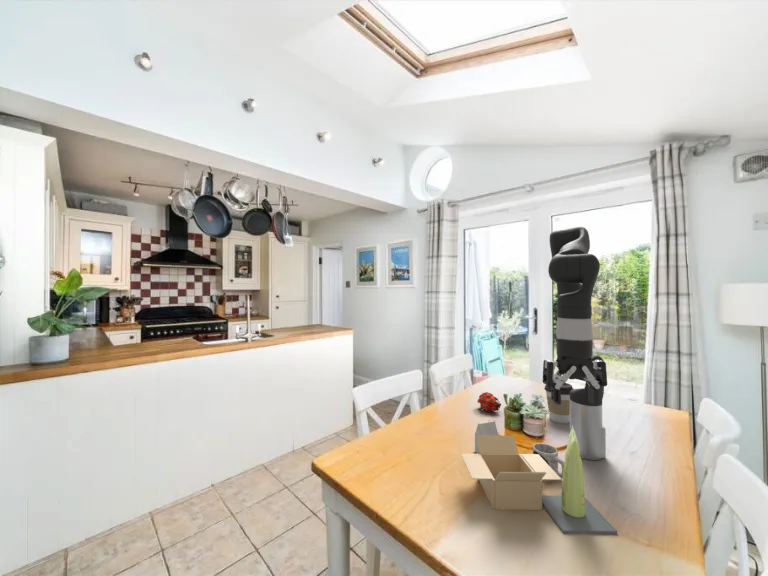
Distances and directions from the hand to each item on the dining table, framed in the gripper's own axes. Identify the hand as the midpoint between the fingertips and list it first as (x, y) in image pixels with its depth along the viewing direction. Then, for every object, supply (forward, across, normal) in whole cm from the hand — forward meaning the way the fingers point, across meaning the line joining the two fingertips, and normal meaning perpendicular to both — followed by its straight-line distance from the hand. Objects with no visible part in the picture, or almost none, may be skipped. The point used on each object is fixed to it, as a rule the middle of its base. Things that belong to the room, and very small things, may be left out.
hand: (574, 403), depth 76 cm
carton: (+27, +13, -8) cm, 31 cm away
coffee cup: (+28, -27, -56) cm, 68 cm away
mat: (+27, 0, 0) cm, 27 cm away
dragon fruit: (+27, -1, -66) cm, 72 cm away
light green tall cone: (+26, 0, 0) cm, 27 cm away
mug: (+27, -3, -17) cm, 32 cm away
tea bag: (+27, +12, -29) cm, 42 cm away
